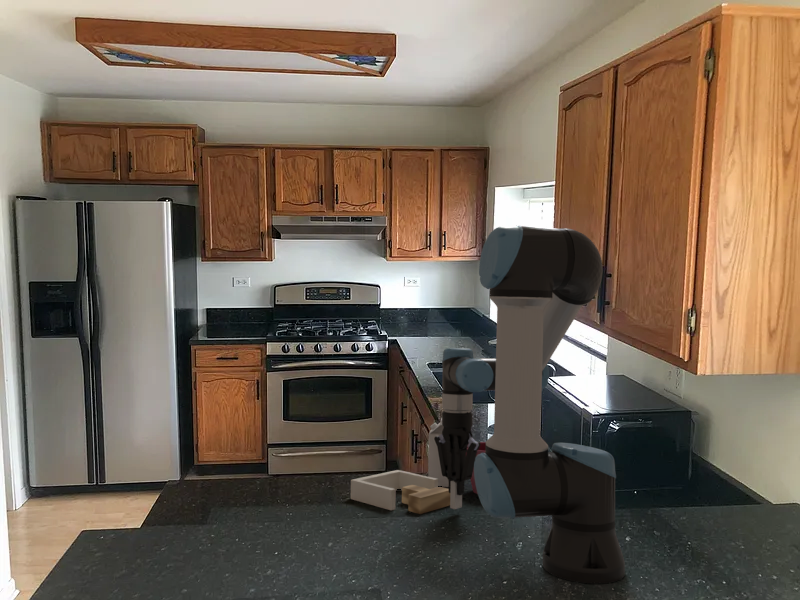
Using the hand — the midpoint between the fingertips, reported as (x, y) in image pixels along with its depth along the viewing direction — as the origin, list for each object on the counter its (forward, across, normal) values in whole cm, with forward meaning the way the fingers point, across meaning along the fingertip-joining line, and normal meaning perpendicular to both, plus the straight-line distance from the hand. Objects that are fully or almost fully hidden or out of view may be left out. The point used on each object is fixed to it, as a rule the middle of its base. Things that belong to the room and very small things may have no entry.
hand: (456, 507), depth 159 cm
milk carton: (+2, +22, -21) cm, 31 cm away
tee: (+2, +11, 0) cm, 12 cm away
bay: (+2, +21, 0) cm, 21 cm away
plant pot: (+2, +7, -24) cm, 25 cm away
